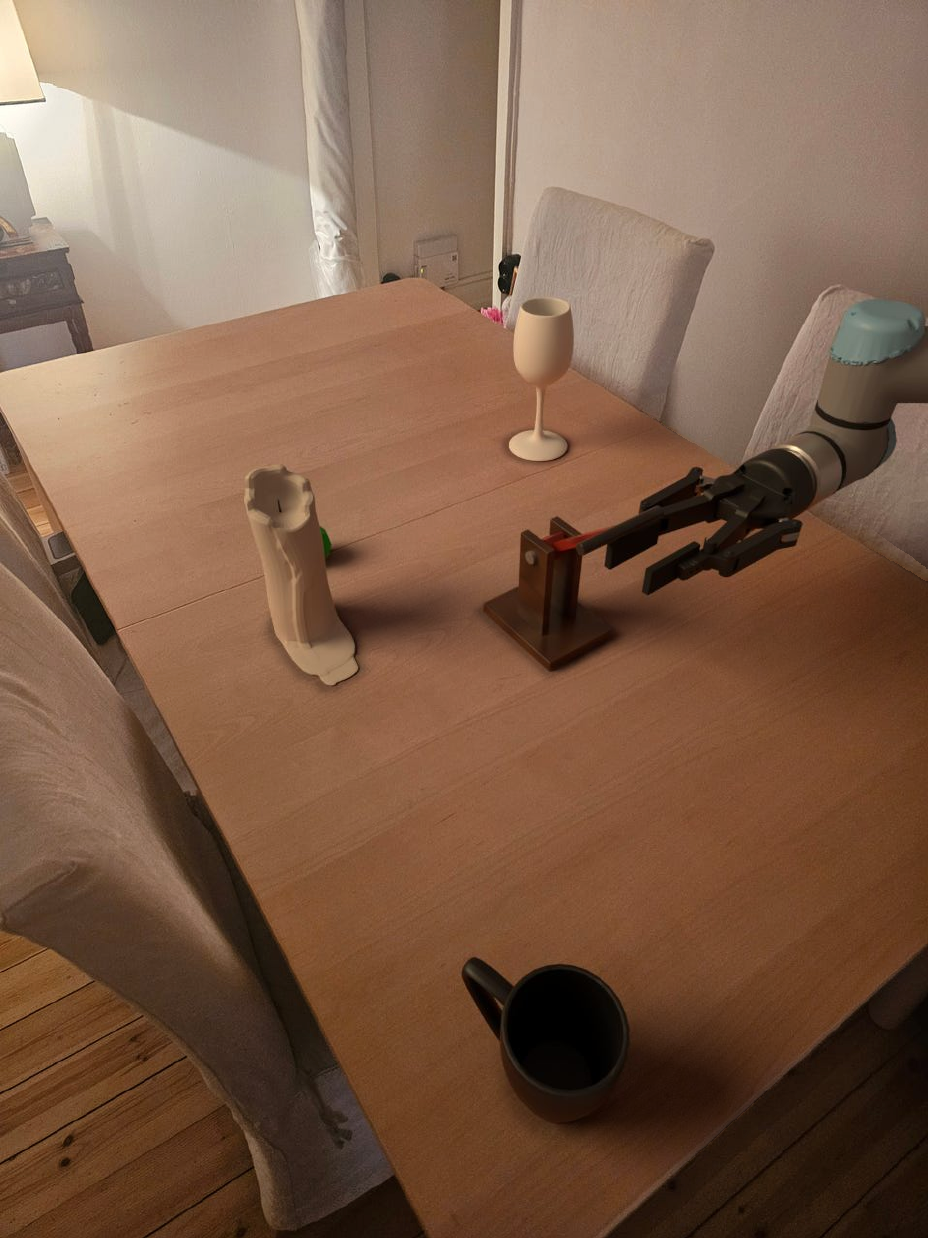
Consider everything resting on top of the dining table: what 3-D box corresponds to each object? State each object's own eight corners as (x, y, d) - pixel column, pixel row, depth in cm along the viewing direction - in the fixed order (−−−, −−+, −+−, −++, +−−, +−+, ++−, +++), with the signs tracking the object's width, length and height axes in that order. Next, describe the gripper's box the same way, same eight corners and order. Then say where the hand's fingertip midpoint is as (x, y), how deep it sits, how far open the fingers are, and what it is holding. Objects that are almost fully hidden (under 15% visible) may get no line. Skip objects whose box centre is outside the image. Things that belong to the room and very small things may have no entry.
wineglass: (497, 450, 122) (499, 310, 107) (528, 425, 127) (534, 288, 112) (548, 468, 118) (557, 325, 104) (577, 441, 123) (590, 302, 109)
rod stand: (611, 637, 92) (624, 546, 83) (549, 671, 88) (556, 580, 79) (542, 582, 99) (548, 493, 91) (483, 611, 95) (483, 521, 87)
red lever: (668, 522, 77) (659, 498, 77) (588, 561, 73) (578, 536, 73) (584, 542, 90) (576, 522, 89) (511, 577, 86) (503, 556, 85)
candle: (314, 694, 86) (283, 542, 73) (265, 619, 95) (229, 470, 81) (375, 667, 89) (356, 516, 75) (321, 597, 98) (296, 449, 84)
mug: (502, 966, 65) (504, 906, 58) (635, 1070, 59) (654, 1016, 53) (434, 1053, 60) (428, 998, 54) (572, 1174, 54) (584, 1129, 48)
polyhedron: (289, 552, 104) (283, 521, 101) (327, 543, 105) (322, 512, 102) (298, 575, 101) (292, 544, 97) (337, 566, 102) (333, 535, 99)
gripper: (846, 549, 83) (693, 649, 72) (712, 477, 93) (560, 557, 82) (870, 485, 78) (709, 584, 67) (725, 417, 88) (565, 493, 77)
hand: (627, 568), depth 75 cm, fingers open, 4 cm apart
